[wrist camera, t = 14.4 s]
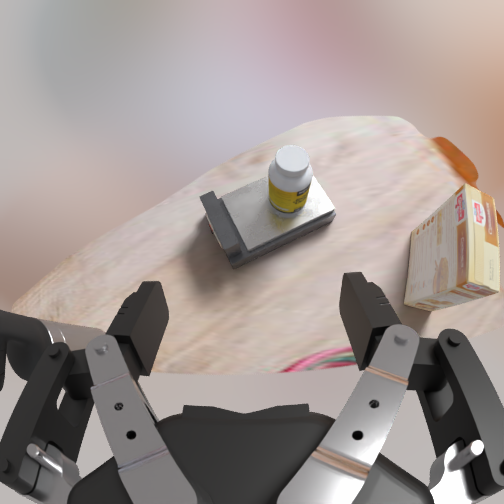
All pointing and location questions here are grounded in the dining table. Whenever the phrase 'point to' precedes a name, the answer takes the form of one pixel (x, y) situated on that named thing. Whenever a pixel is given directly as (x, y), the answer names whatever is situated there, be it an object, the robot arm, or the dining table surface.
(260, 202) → the pan
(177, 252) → the dining table surface
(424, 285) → the coffeecake box
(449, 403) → the robot arm
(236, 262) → the kitchen scale
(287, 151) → the pill bottle
